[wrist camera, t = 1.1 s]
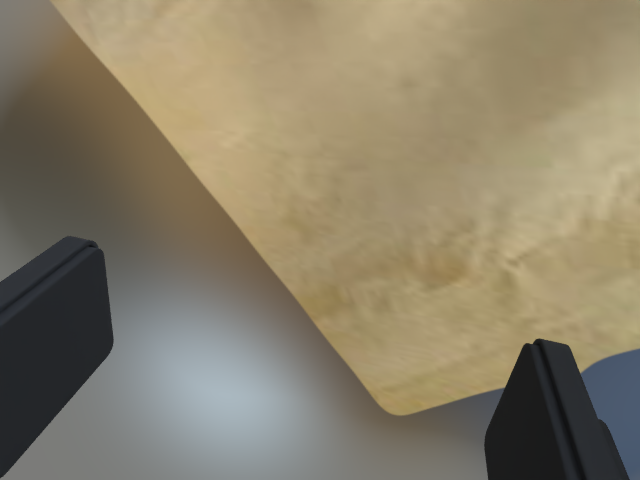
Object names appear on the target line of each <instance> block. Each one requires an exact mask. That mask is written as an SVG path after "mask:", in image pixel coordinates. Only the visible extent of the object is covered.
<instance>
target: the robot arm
mask: <svg viewBox="0 0 640 480" xmlns="http://www.w3.org/2000/svg"><path fill="white" fill-rule="evenodd" d="M112 346H113V331H112V323H111V313H110V304H109V295H108V287H107V278H106V268H105V259H104V253H103V251H102V250H101V249H99V248H98V246H97V244H96V243H95V242H94V241H90V240H86V239H81V238H77V237H72V236H68V237H65V238H63V239H62V240H60V241H59V242H57V243H56V244H55V245H53V246H52V247H50V248H49V249H47V250H46V251H45V252H43V253H42V254H40V255H39V256H37V257H36V258H34V259H33V260H31V261H30V262H29V263H27V264H26V265H24V266H23V267H22V268H20V269H18V270H17V271H16V272H14V273H13V274H11V275H10V276H9V277H7V278H6V279H4V280H3V281H1V282H0V478H1V477H3V476H4V475H5V474H6V473H7V472H8V471H9V469H10V468H11V467H12V466H13V465H14V464H15V463H16V461H17V460H18V459H19V458H20V457H21V456H22V454H23V453H24V452H25V451H26V450H27V448H29V446H30V445H31V444H32V443H33V442H34V441H35V439H36V438H37V437H38V436H39V435H40V433H42V431H43V430H44V429H45V428H46V427H47V426H48V424H49V423H50V422H51V421H52V420H53V419H54V417H55V416H56V415H57V414H58V413H59V412H60V411H61V409H62V408H63V407H64V406H65V405H66V404H67V402H68V401H69V400H70V399H71V398H72V397H73V395H74V394H75V393H76V392H77V391H78V390H79V389H80V387H81V386H82V385H83V384H84V383H85V382H86V381H87V379H88V378H89V377H90V376H91V375H92V374H93V372H94V371H95V370H96V369H97V368H98V367H99V366H100V364H101V363H102V362H103V361H104V360H105V359H106V357H107V356H108V355H109V353H110V351H111V349H112ZM484 446H485V456H486V464H487V472H488V480H630V479H629V477H628V475H627V472H626V470H625V467H624V465H623V462H622V460H621V457H620V455H619V453H618V450H617V448H616V445H615V443H614V440H613V438H612V436H611V433H610V431H609V429H608V427H607V425H606V424H605V423H604V422H603V421H602V420H600V419H598V418H597V416H596V413H595V410H594V408H593V405H592V403H591V400H590V398H589V395H588V392H587V390H586V387H585V385H584V382H583V380H582V377H581V375H580V372H579V369H578V367H577V364H576V362H575V359H574V357H573V354H572V352H571V349H570V347H569V346H568V345H566V344H562V343H557V342H553V341H548V340H544V339H536V340H535V341H534V343H533V344H529V343H526V344H525V345H524V346H523V348H522V350H521V352H520V355H519V357H518V359H517V362H516V364H515V366H514V369H513V371H512V373H511V375H510V378H509V380H508V382H507V385H506V387H505V389H504V392H503V394H502V397H501V399H500V401H499V404H498V406H497V408H496V410H495V413H494V415H493V417H492V419H491V422H490V424H489V426H488V429H487V431H486V436H485V444H484Z"/></svg>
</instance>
